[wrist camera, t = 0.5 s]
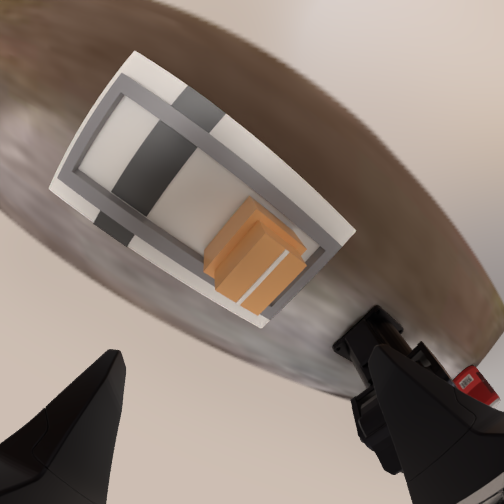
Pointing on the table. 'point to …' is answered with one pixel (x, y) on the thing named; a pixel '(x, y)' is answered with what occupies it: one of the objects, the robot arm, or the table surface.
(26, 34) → the table surface
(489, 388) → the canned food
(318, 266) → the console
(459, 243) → the table surface
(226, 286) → the fader knob
